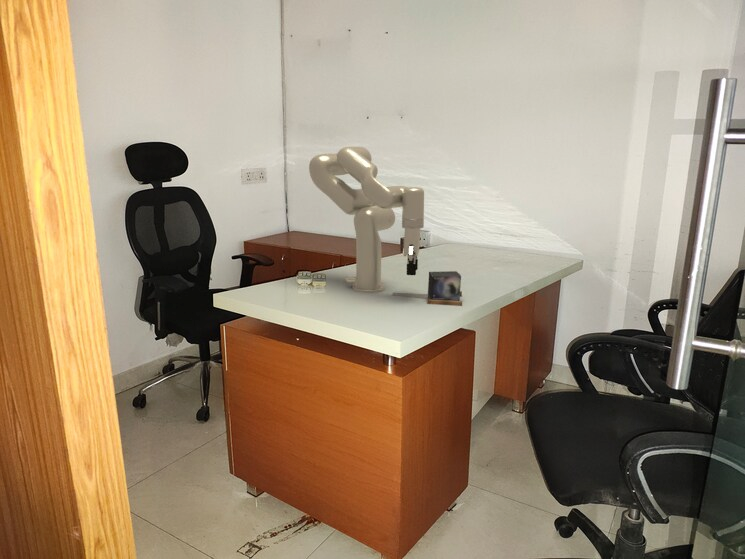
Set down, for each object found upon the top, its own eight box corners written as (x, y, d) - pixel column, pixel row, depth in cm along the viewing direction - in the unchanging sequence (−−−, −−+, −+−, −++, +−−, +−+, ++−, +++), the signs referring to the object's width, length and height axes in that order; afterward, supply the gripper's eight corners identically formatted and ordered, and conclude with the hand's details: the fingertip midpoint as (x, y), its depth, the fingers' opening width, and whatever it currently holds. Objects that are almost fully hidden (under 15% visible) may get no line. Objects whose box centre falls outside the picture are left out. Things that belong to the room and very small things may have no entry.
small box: (431, 304, 183) (432, 275, 180) (426, 299, 189) (428, 271, 186) (460, 303, 184) (461, 275, 182) (455, 298, 191) (456, 270, 188)
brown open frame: (427, 306, 181) (427, 300, 181) (429, 294, 194) (429, 289, 194) (461, 308, 179) (462, 302, 179) (461, 296, 193) (461, 291, 192)
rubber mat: (389, 302, 185) (389, 301, 184) (392, 293, 195) (392, 292, 195) (425, 304, 183) (426, 303, 182) (427, 295, 193) (427, 294, 193)
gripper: (404, 219, 190) (404, 266, 195) (399, 226, 174) (399, 277, 178) (425, 220, 189) (424, 267, 194) (422, 227, 173) (421, 278, 177)
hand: (412, 271), depth 186 cm, fingers open, 7 cm apart
